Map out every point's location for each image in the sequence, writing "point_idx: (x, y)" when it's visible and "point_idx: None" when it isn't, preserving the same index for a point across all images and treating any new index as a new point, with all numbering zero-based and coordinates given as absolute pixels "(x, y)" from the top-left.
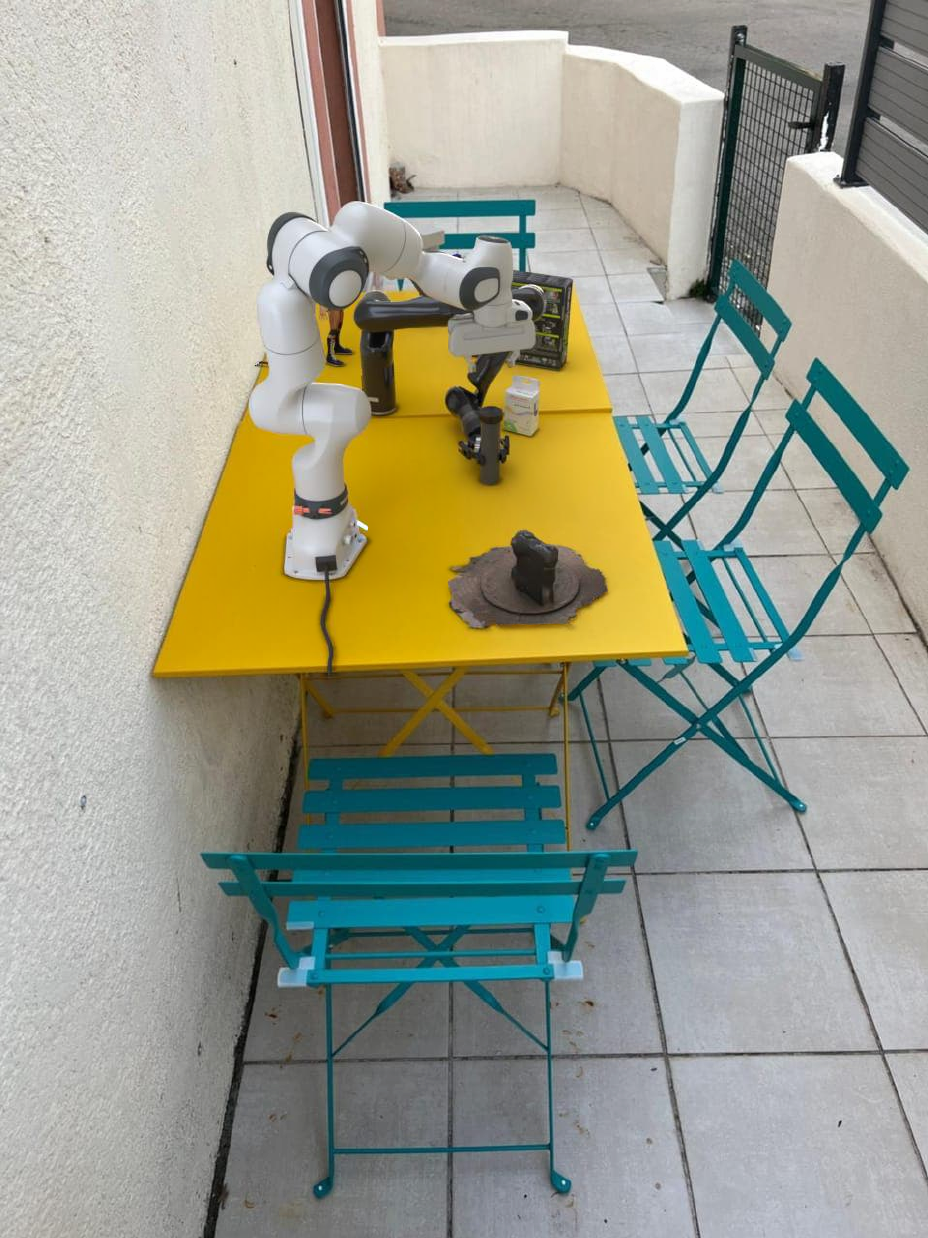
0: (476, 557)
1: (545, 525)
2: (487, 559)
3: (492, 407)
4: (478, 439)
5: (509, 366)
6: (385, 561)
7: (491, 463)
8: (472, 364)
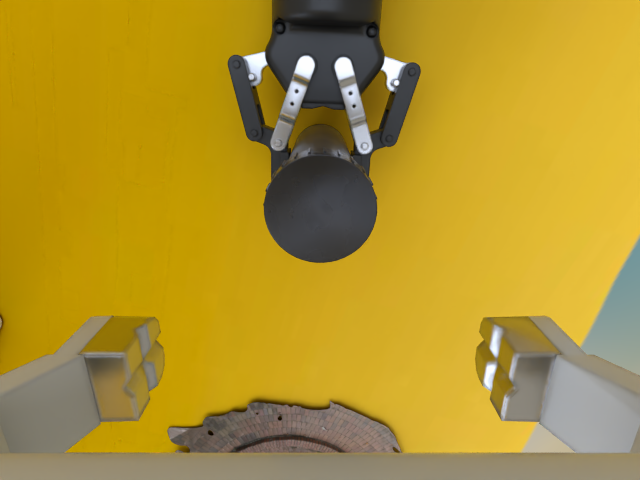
0: (216, 421)
1: (381, 354)
2: (235, 430)
3: (339, 174)
4: (300, 81)
5: (486, 384)
6: None
7: None
8: (100, 389)
